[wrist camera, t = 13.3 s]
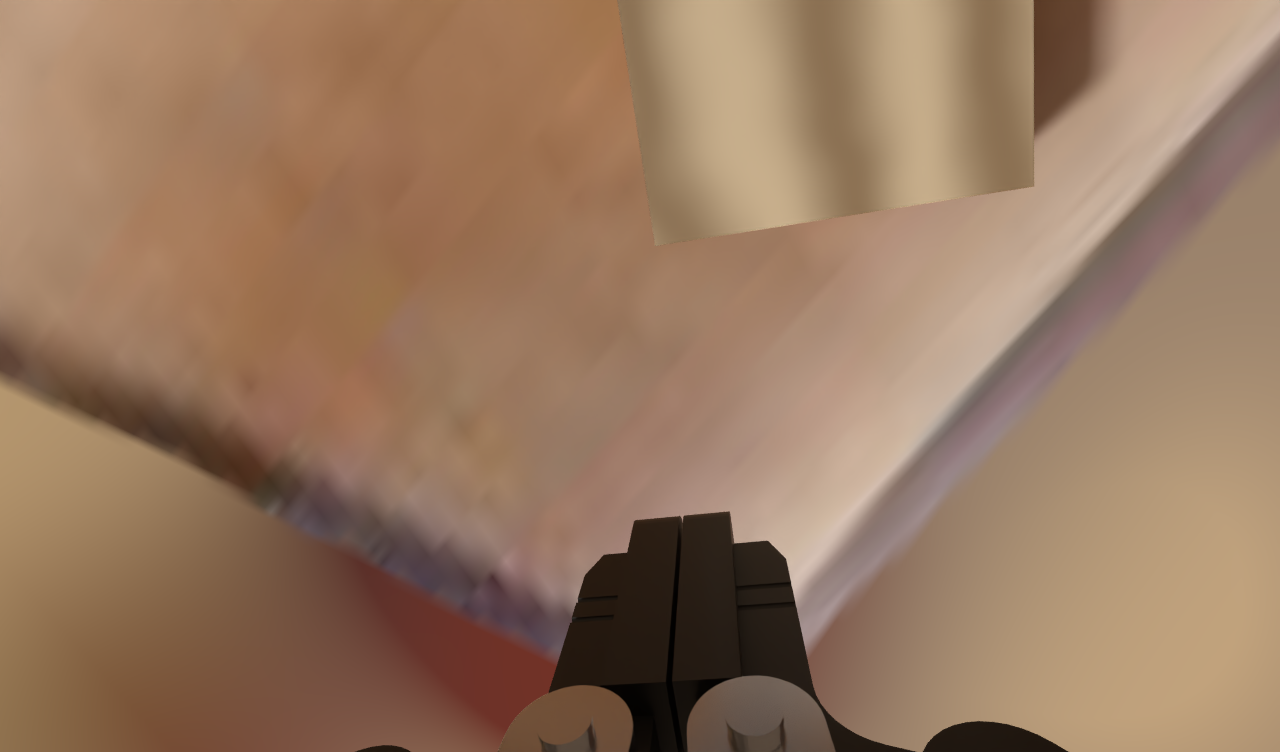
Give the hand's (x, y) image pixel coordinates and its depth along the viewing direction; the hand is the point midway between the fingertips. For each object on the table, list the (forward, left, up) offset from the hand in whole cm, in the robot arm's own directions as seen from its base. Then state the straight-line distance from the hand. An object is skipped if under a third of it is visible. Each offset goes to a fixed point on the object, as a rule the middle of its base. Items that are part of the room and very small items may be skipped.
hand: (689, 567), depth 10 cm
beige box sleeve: (+6, +9, -27) cm, 29 cm away
